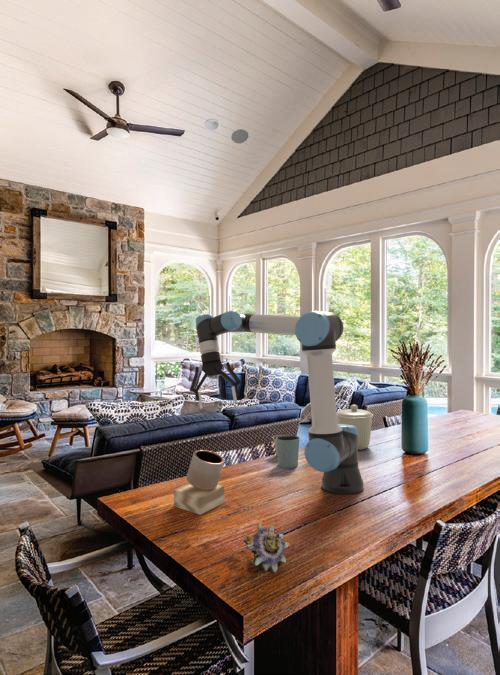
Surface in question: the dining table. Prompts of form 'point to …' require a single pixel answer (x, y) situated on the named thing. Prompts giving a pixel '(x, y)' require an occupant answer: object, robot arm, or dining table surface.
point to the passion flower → (267, 548)
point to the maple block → (198, 498)
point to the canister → (357, 423)
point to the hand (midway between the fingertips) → (218, 406)
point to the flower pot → (275, 443)
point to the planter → (205, 469)
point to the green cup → (287, 451)
